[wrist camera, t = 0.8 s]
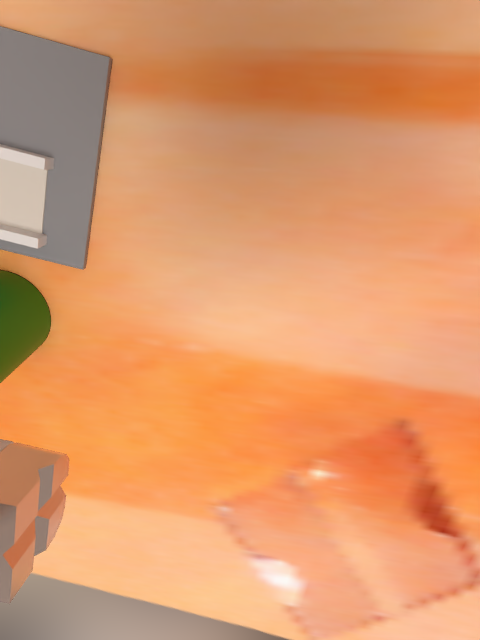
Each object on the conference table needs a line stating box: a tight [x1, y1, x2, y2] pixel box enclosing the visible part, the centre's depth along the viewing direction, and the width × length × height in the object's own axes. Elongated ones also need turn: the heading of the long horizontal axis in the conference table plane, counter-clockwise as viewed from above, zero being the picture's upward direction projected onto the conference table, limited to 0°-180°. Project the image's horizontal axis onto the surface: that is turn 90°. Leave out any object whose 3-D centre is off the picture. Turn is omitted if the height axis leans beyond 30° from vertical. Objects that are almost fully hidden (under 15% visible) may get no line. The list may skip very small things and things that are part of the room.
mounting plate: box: [0, 26, 112, 269], centre depth 41 cm, size 20×16×3 cm
